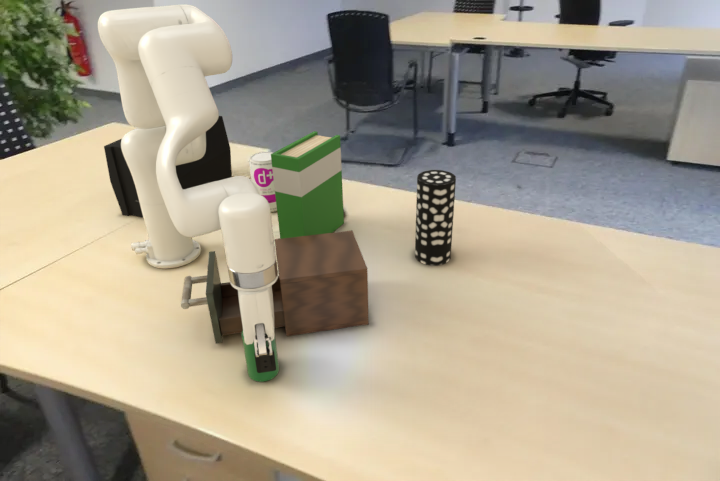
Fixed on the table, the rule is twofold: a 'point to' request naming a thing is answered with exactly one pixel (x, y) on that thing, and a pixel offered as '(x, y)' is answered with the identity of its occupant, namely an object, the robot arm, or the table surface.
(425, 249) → the white-spotted black cylinder
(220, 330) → the drawer
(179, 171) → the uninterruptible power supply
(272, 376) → the green can
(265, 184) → the supplement can
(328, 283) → the cabinet
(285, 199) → the hardback book
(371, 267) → the table surface
